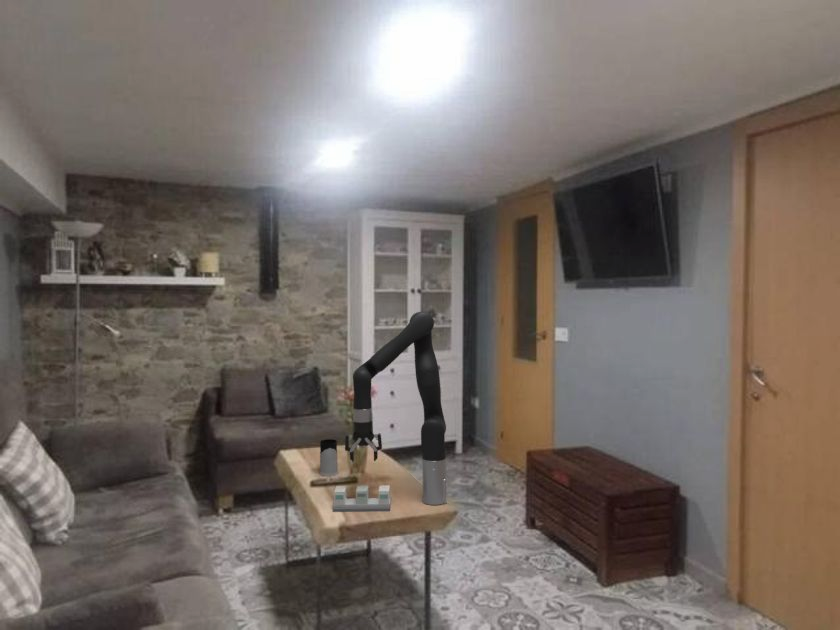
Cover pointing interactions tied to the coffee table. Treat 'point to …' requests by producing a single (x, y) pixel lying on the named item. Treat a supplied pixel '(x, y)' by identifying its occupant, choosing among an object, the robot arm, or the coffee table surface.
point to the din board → (350, 504)
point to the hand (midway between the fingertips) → (363, 460)
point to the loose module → (362, 494)
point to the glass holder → (328, 457)
